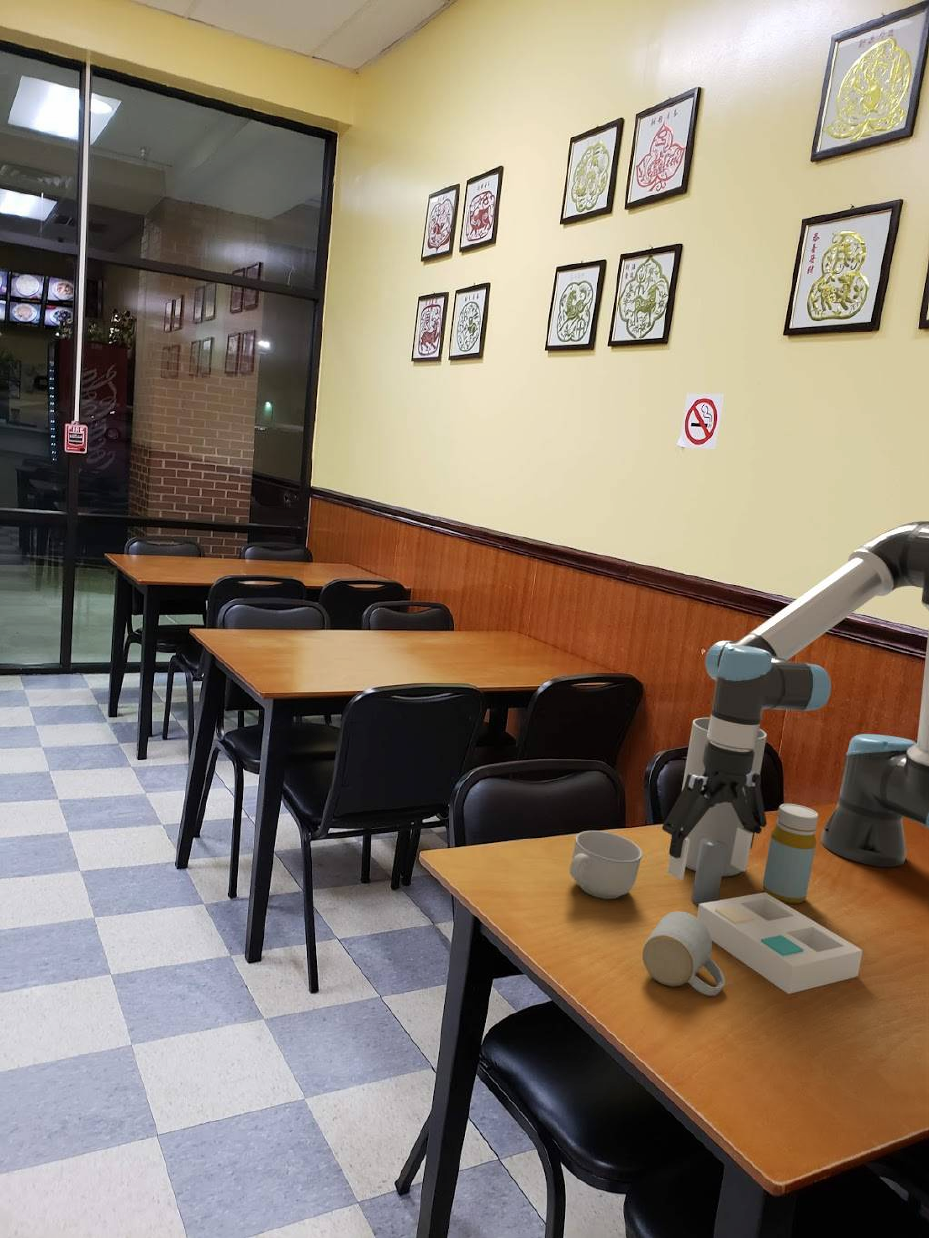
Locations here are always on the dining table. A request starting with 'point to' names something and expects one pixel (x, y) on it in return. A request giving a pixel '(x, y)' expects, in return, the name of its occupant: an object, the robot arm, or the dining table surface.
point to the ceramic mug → (681, 953)
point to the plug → (709, 871)
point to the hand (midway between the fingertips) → (707, 871)
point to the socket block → (779, 942)
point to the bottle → (791, 854)
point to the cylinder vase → (722, 816)
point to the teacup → (605, 863)
